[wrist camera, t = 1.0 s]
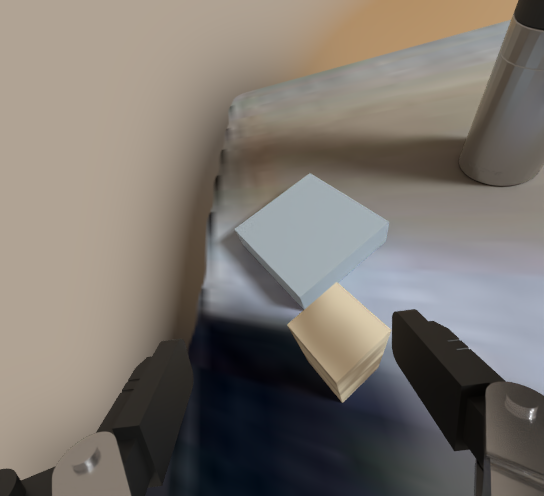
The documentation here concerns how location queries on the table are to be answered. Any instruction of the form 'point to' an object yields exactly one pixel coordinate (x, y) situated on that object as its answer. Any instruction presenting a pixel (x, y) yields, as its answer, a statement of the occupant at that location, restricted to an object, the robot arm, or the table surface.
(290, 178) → the table surface
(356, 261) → the base
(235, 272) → the table surface
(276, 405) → the table surface
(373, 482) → the table surface
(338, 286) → the beech block
